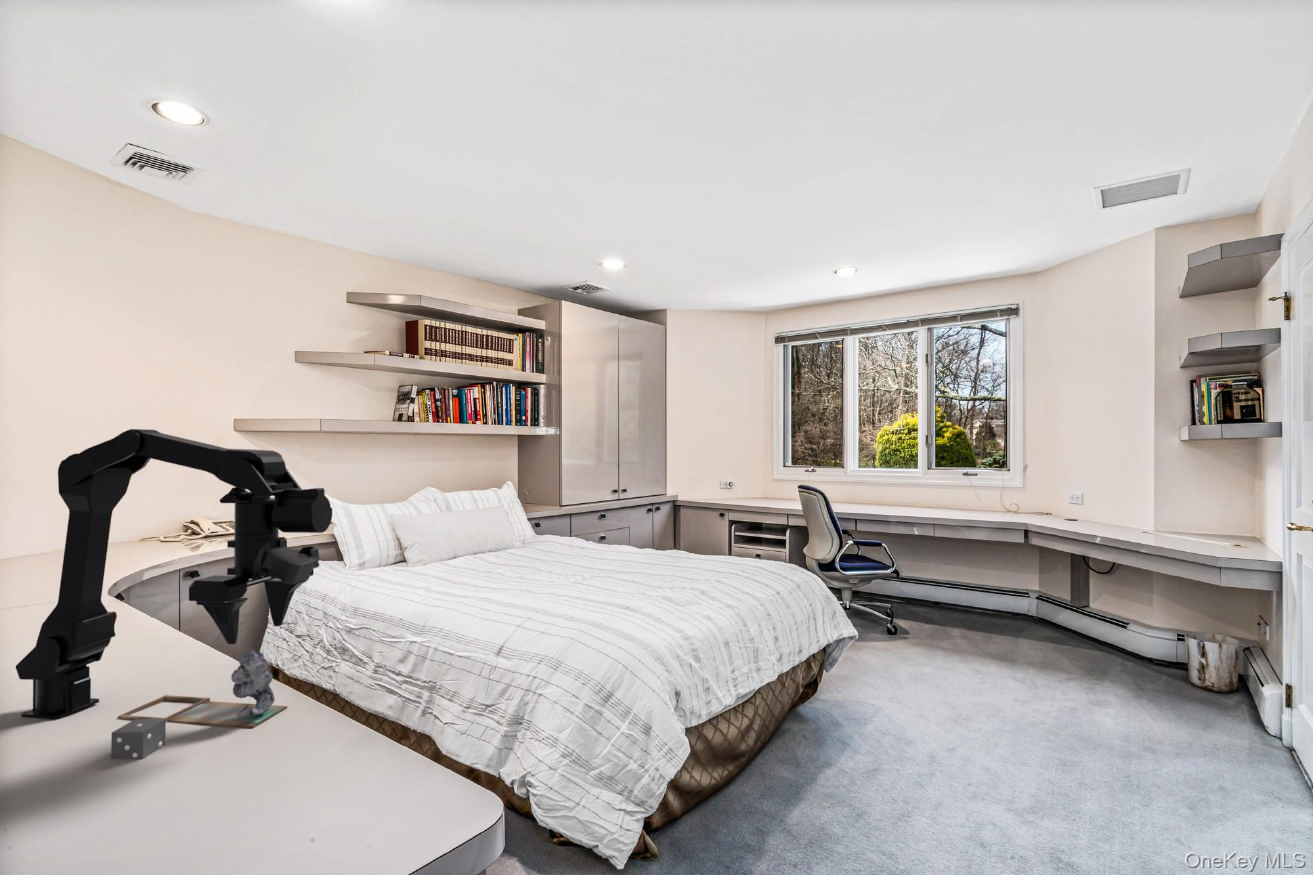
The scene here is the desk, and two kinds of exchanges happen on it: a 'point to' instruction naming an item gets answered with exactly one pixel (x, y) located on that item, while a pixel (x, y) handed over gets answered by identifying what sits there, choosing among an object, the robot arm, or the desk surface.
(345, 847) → the desk surface
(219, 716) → the board
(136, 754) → the die
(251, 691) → the seashell
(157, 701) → the frame
